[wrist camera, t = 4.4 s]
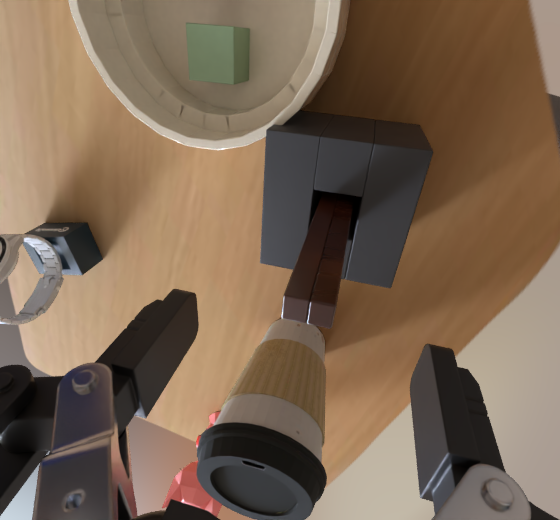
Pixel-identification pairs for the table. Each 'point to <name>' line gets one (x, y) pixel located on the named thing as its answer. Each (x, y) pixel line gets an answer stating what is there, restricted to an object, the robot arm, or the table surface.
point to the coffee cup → (271, 429)
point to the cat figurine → (193, 485)
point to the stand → (343, 188)
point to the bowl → (206, 95)
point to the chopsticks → (320, 264)
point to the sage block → (218, 53)
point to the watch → (48, 261)
